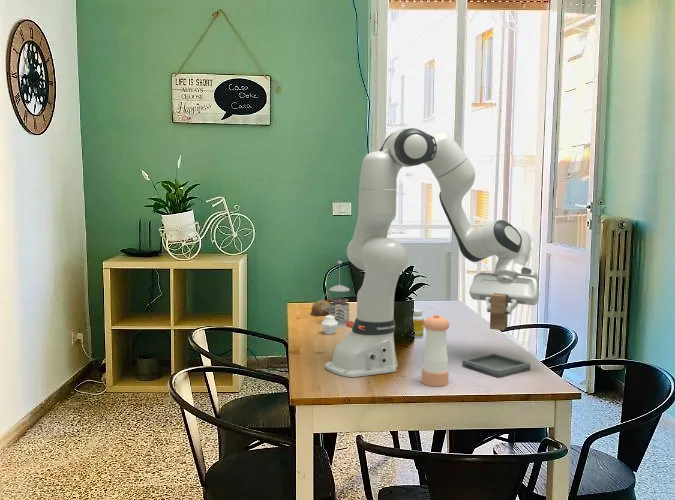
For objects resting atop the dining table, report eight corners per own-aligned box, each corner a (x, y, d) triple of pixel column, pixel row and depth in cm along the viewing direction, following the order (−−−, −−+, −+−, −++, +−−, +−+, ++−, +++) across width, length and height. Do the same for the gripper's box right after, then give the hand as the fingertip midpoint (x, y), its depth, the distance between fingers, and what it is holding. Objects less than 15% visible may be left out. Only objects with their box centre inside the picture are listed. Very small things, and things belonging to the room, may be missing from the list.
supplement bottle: (405, 336, 234) (405, 310, 233) (414, 334, 238) (414, 308, 237) (417, 339, 231) (418, 312, 230) (426, 336, 235) (427, 310, 234)
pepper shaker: (453, 382, 182) (455, 314, 179) (438, 388, 176) (440, 318, 174) (431, 377, 186) (432, 310, 184) (416, 382, 181) (418, 314, 179)
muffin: (318, 334, 236) (318, 315, 236) (324, 331, 242) (324, 312, 241) (334, 336, 234) (335, 316, 234) (340, 332, 240) (340, 313, 239)
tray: (498, 377, 186) (498, 371, 186) (462, 366, 197) (462, 359, 197) (530, 370, 194) (530, 363, 194) (493, 359, 205) (493, 353, 205)
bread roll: (312, 321, 277) (304, 304, 275) (333, 309, 279) (326, 293, 277) (319, 326, 267) (311, 309, 265) (340, 314, 270) (332, 297, 268)
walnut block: (503, 330, 190) (504, 296, 189) (489, 328, 192) (490, 295, 191) (507, 327, 193) (508, 294, 192) (493, 326, 195) (494, 293, 194)
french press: (349, 327, 248) (350, 262, 245) (319, 326, 250) (320, 261, 247) (353, 322, 257) (354, 259, 255) (324, 321, 259) (324, 258, 257)
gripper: (473, 266, 202) (461, 302, 195) (541, 271, 192) (531, 309, 184) (477, 278, 206) (466, 314, 199) (543, 284, 196) (534, 322, 189)
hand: (498, 312), depth 192 cm, fingers closed on walnut block, 4 cm apart
